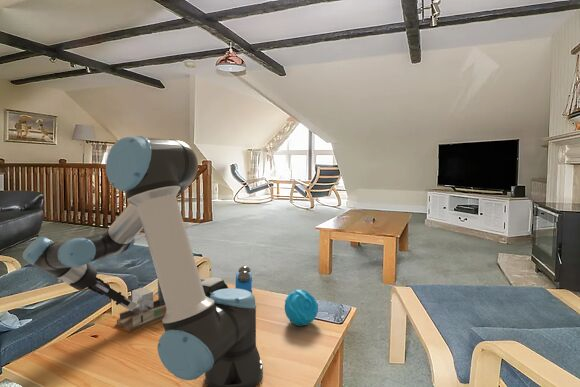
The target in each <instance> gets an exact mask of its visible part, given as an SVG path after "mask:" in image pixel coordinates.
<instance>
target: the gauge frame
mask: <svg viewBox="0 0 580 387" xmlns="http://www.w3.org/2000/svg"><path fill="white" fill-rule="evenodd" d="M157 293H158V294H157V296H158V299H157V300H153V305H154V309H152V310H150V311H147V312H144V313H142V314H139V315H136V316H135V315H133V311H130V310H129V309H127V310H126V311H123V312H120V313H119V318H118V319H116V325H118V326H119V327H121V328H122V329H124V330H125V331H127V332H129V333H133V332H136V331H139V330H140V329H143V328H146V327H148V326H150V325H153V324H156V323H158V322H160V321H161V322H162V320H163V318H164V316H165V314H166V312H167V308H166V305H165V302H164V298H163V295H162V291H161V288H160V284H159V281H158V280H157Z"/></svg>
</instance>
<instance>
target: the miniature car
mask: <svg viewBox="0 0 580 387" xmlns="http://www.w3.org/2000/svg"><path fill="white" fill-rule="evenodd" d="M201 283H202V286H203V290H204V293H205V296H206V297H208V298H210V295H211V293H212V292H214V291H216V290H220V289H227V288H229V286H228V284H227V283H225V281H224V279H223V278H220V277H214V276H211V277H210V278H206V279H203V280H201Z"/></svg>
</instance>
